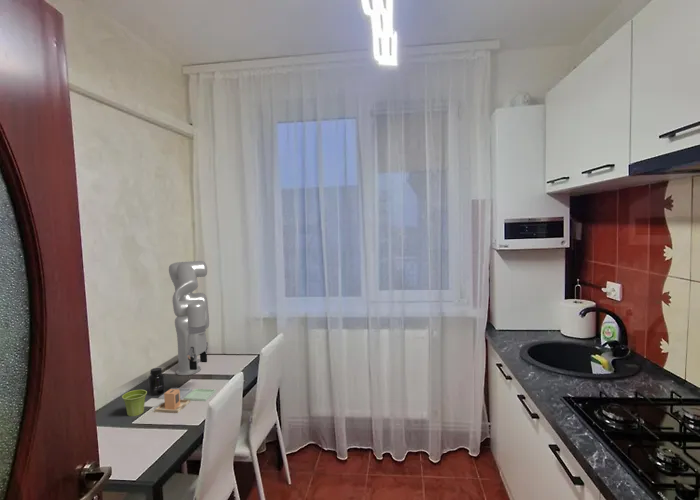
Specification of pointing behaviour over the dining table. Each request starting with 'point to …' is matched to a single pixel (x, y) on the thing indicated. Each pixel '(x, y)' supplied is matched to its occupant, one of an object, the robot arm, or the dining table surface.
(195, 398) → the tray green
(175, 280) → the robot arm
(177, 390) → the letter block
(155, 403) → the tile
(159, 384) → the supplement bottle
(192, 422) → the dining table surface
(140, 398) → the plant pot
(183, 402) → the tray birch
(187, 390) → the tray grey
